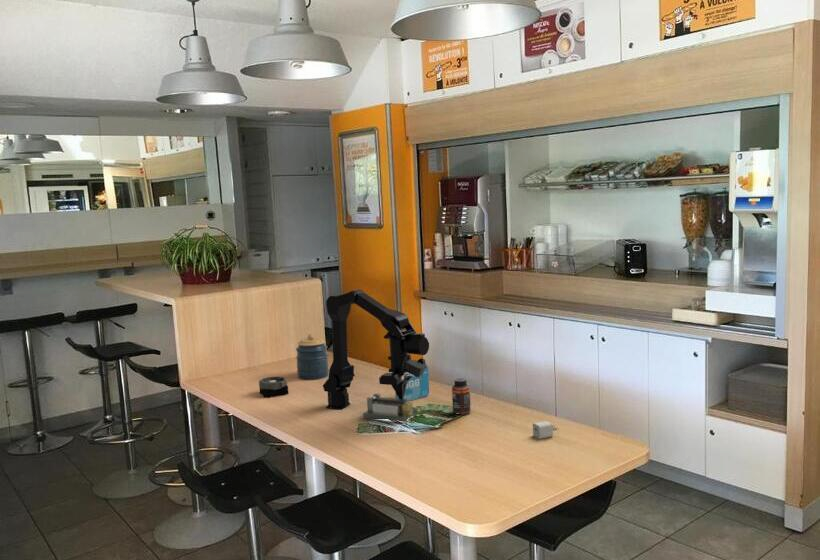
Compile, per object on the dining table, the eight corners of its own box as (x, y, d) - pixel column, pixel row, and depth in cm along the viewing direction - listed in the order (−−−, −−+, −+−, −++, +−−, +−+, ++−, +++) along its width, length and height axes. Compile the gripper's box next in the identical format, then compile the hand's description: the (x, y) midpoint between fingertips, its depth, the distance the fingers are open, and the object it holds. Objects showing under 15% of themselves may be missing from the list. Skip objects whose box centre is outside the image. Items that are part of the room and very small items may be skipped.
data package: (402, 402, 251) (401, 369, 249) (395, 400, 254) (393, 367, 253) (429, 395, 257) (428, 363, 256) (422, 393, 261) (421, 361, 260)
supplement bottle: (473, 410, 238) (472, 377, 236) (467, 416, 232) (465, 382, 231) (456, 409, 240) (455, 376, 239) (450, 414, 235) (448, 381, 233)
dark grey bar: (369, 402, 236) (369, 397, 236) (373, 400, 239) (373, 395, 239) (404, 404, 231) (403, 399, 231) (407, 402, 233) (407, 397, 233)
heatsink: (363, 419, 234) (362, 399, 233) (377, 410, 243) (376, 391, 242) (404, 423, 228) (403, 403, 227) (417, 414, 236) (416, 395, 236)
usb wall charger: (533, 435, 212) (532, 422, 211) (553, 432, 214) (552, 419, 214) (539, 439, 208) (539, 426, 207) (560, 436, 210) (560, 422, 210)
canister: (333, 372, 298) (331, 330, 296) (322, 380, 286) (320, 337, 284) (304, 371, 301) (301, 330, 299) (292, 379, 289) (289, 337, 286)
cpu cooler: (256, 378, 271) (282, 374, 275) (257, 392, 272) (283, 388, 276) (263, 384, 262) (289, 380, 266) (264, 399, 263) (290, 395, 267)
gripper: (409, 360, 219) (411, 409, 221) (432, 347, 236) (435, 393, 238) (377, 358, 224) (380, 406, 225) (402, 346, 240) (405, 390, 242)
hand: (401, 399), depth 233 cm, fingers closed
